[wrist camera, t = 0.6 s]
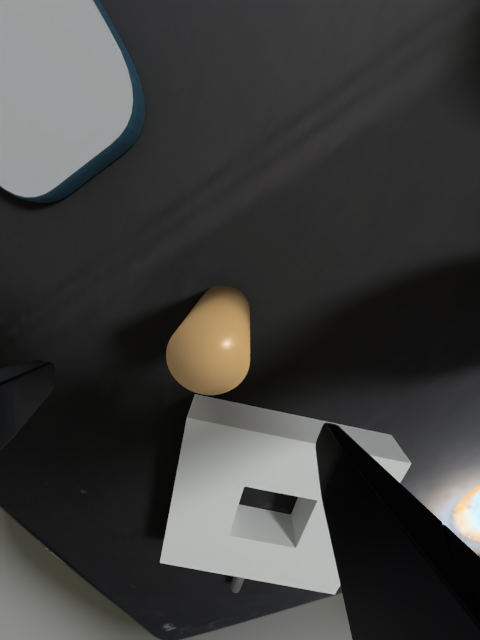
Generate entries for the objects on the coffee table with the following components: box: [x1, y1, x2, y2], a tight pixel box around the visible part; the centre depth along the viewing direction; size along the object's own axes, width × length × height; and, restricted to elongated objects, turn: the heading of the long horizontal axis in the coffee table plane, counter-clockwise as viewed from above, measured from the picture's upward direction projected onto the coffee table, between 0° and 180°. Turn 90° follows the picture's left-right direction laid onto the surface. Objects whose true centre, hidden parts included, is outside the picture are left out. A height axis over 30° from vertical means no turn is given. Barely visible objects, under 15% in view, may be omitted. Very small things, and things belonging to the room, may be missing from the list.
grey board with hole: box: [160, 394, 412, 595], centre depth 25 cm, size 18×25×3 cm
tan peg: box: [166, 285, 250, 395], centre depth 16 cm, size 4×4×8 cm
